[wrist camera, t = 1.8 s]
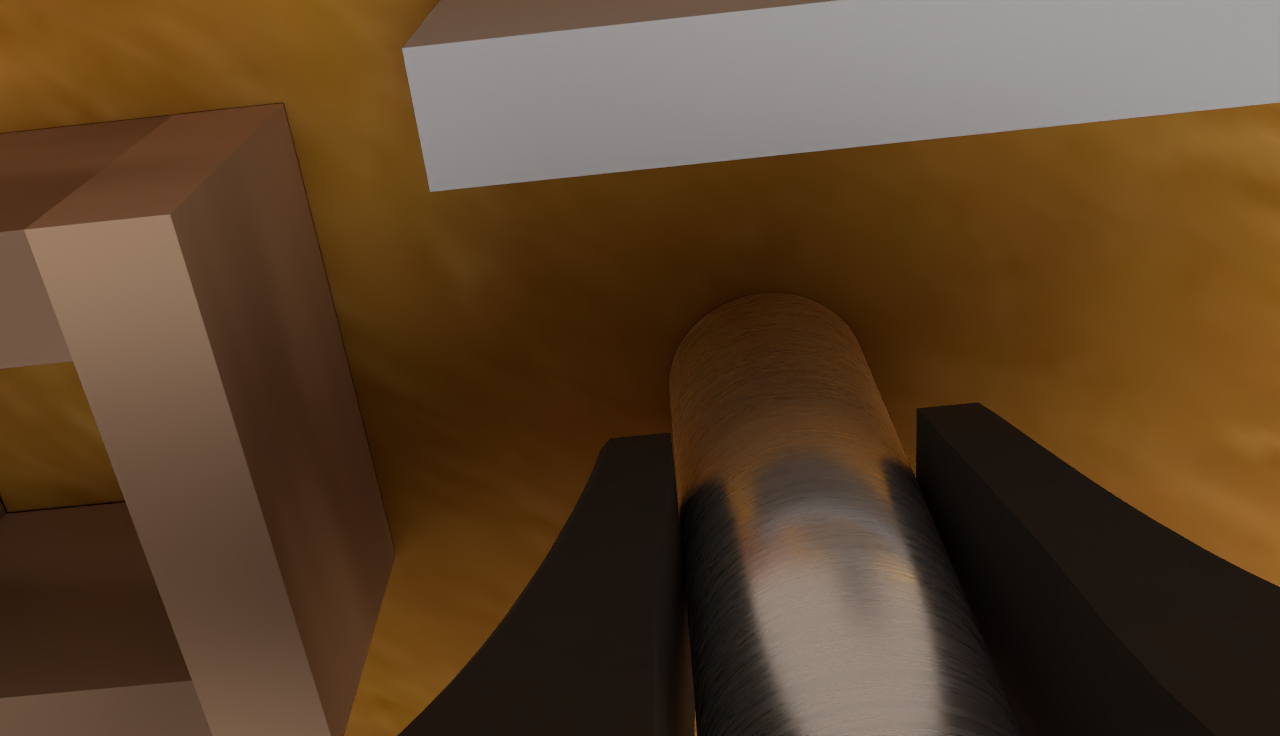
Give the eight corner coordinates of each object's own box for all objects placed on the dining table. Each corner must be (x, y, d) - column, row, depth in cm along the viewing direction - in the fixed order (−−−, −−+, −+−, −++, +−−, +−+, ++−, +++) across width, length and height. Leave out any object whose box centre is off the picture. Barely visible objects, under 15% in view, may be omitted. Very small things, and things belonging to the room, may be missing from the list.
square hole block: (394, 554, 15) (337, 757, 12) (-50, 597, 15) (-221, 807, 12) (283, 103, 12) (170, 214, 9) (-258, 161, 13) (-549, 289, 9)
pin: (866, 456, 15) (1051, 967, 8) (677, 474, 15) (722, 994, 8) (864, 282, 13) (1074, 723, 7) (660, 303, 13) (695, 756, 7)
